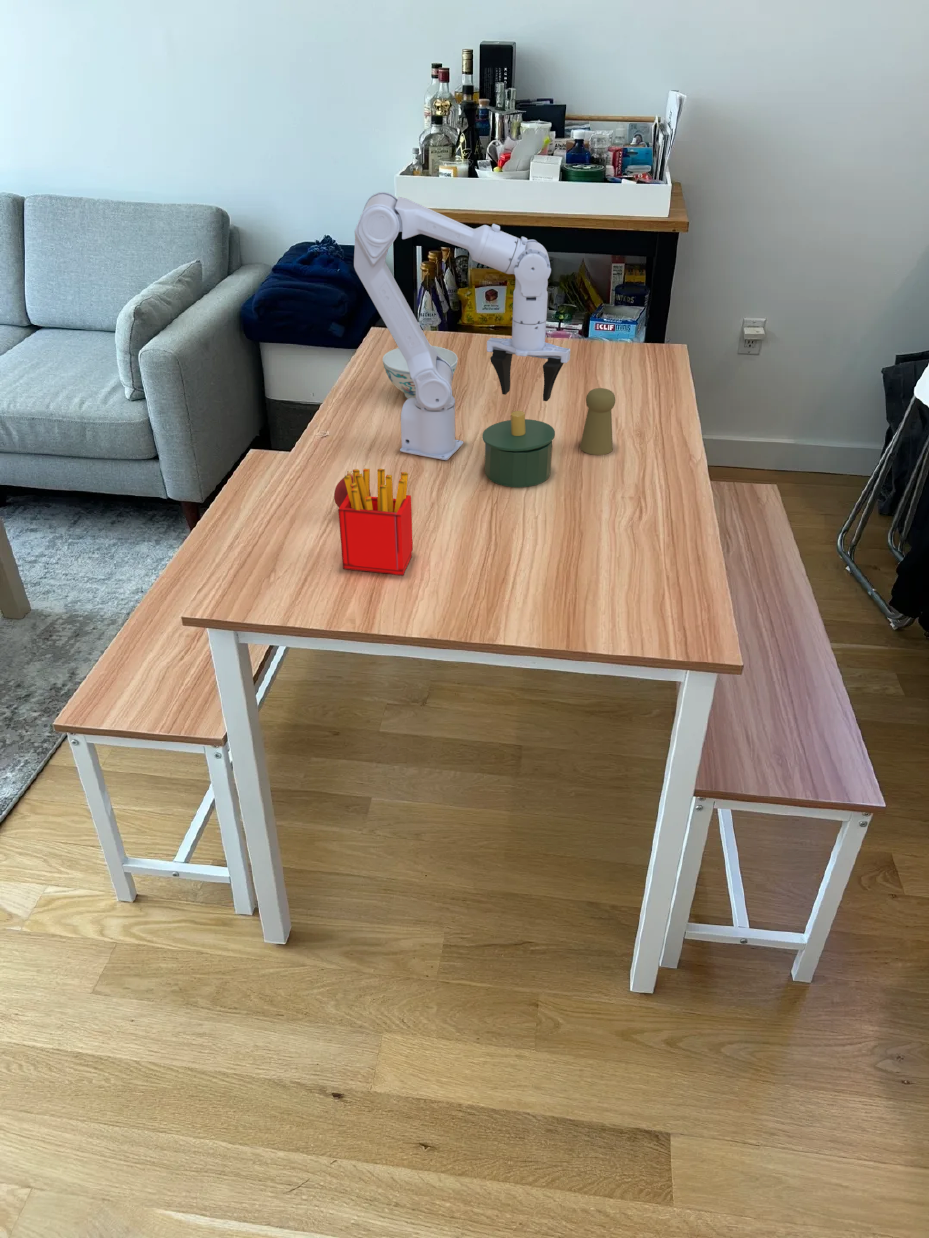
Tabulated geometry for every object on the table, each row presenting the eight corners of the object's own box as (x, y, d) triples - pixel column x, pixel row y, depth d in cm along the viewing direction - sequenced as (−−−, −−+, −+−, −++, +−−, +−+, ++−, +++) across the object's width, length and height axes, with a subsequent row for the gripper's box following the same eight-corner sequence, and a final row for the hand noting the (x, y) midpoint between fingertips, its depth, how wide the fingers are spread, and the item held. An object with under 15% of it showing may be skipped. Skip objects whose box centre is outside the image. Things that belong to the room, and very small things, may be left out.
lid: (471, 450, 162) (469, 424, 160) (498, 422, 172) (496, 397, 169) (541, 458, 158) (540, 431, 155) (564, 428, 167) (564, 403, 165)
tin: (474, 480, 166) (475, 445, 162) (498, 453, 174) (499, 420, 171) (537, 492, 162) (539, 457, 159) (558, 464, 171) (560, 431, 167)
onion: (377, 510, 157) (375, 466, 152) (363, 527, 152) (360, 482, 148) (345, 505, 158) (341, 461, 154) (330, 521, 154) (325, 476, 149)
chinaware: (471, 390, 198) (471, 354, 194) (430, 415, 188) (430, 377, 183) (412, 376, 205) (410, 340, 200) (369, 399, 194) (367, 362, 190)
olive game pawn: (611, 456, 174) (617, 398, 167) (578, 453, 175) (582, 396, 168) (614, 442, 179) (619, 385, 172) (581, 439, 180) (586, 383, 173)
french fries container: (355, 547, 148) (349, 464, 140) (413, 553, 146) (411, 469, 138) (342, 571, 142) (335, 486, 134) (402, 577, 141) (399, 492, 132)
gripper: (480, 320, 161) (479, 397, 169) (563, 332, 157) (558, 410, 165) (495, 308, 166) (494, 383, 174) (576, 319, 162) (570, 395, 170)
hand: (526, 395), depth 170 cm, fingers open, 7 cm apart
